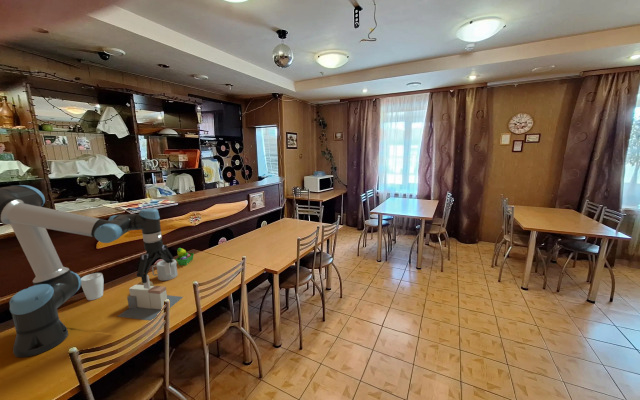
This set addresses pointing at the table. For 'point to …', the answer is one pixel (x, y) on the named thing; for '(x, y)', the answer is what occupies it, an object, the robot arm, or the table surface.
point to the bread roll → (142, 283)
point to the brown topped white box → (157, 296)
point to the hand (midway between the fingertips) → (158, 280)
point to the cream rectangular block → (139, 297)
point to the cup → (93, 285)
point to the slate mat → (147, 310)
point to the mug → (161, 270)
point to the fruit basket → (184, 257)
